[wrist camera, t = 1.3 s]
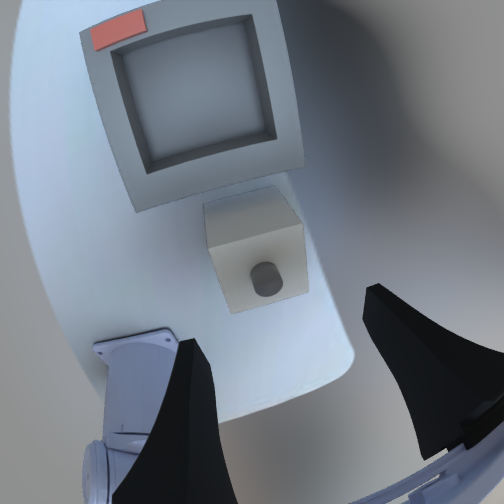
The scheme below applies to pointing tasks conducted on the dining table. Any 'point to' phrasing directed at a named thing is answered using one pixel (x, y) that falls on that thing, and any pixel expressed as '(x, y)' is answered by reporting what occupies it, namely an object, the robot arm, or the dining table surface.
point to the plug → (256, 248)
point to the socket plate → (194, 96)
